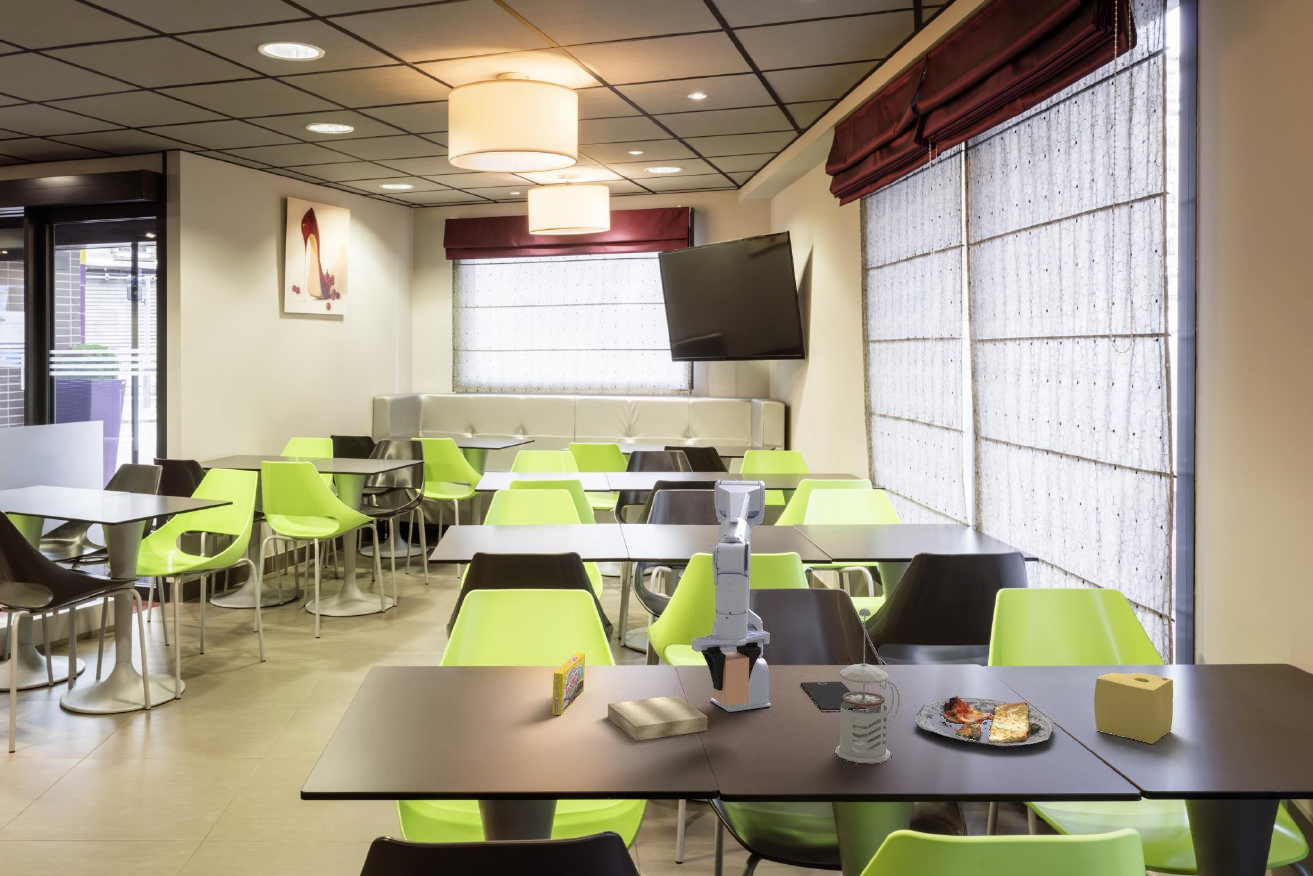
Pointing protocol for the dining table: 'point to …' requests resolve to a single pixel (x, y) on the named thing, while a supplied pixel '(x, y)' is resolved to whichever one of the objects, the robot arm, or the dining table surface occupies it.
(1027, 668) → the dining table surface
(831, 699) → the cell phone
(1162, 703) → the cheese
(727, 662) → the terracotta block
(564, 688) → the candy box
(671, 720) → the birch block
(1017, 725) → the food plate
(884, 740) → the french press
